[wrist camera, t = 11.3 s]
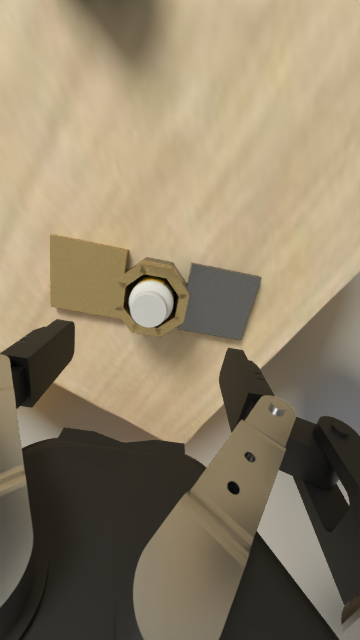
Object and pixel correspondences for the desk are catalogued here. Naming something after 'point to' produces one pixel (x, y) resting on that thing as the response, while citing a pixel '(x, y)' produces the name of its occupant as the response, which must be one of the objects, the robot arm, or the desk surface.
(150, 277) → the supplement bottle
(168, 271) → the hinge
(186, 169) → the desk surface
